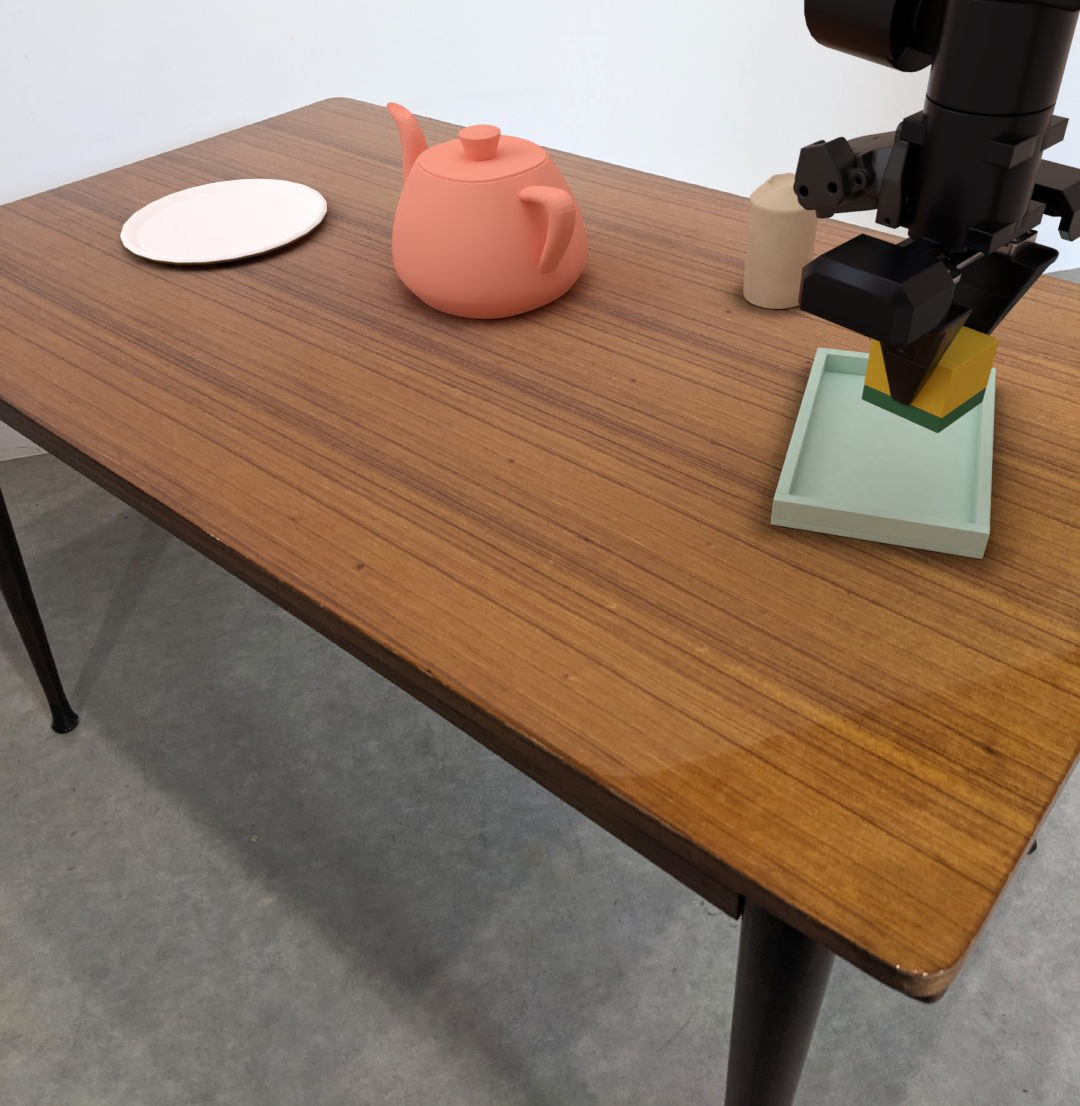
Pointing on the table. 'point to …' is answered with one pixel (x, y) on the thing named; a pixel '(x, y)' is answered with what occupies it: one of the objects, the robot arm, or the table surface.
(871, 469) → the tray
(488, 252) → the teapot
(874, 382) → the sponge
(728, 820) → the table surface
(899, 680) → the table surface
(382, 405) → the table surface
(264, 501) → the table surface
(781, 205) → the candle
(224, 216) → the plate
